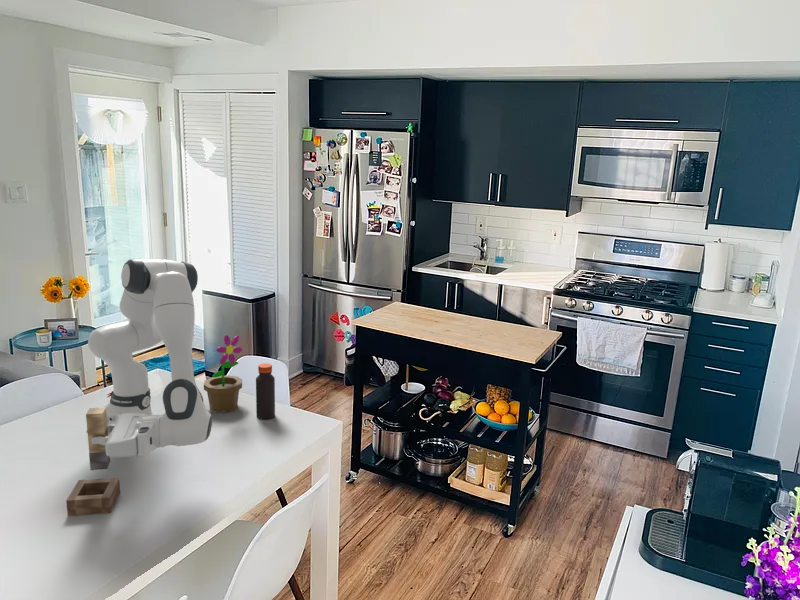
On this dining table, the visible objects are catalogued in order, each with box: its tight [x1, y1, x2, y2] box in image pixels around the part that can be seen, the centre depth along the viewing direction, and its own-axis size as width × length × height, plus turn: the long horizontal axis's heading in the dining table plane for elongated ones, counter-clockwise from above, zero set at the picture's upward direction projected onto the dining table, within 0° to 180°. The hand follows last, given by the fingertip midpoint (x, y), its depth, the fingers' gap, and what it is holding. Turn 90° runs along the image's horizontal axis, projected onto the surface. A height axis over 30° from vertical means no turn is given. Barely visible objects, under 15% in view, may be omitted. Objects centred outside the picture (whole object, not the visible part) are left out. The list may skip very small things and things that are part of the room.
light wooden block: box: [85, 407, 111, 471], centre depth 162 cm, size 4×4×16 cm
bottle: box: [255, 362, 276, 421], centre depth 223 cm, size 7×7×20 cm
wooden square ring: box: [65, 477, 121, 517], centre depth 165 cm, size 10×10×4 cm
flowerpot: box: [203, 334, 243, 413], centre depth 228 cm, size 14×14×30 cm
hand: (94, 435), depth 161 cm, fingers closed on light wooden block, 4 cm apart
